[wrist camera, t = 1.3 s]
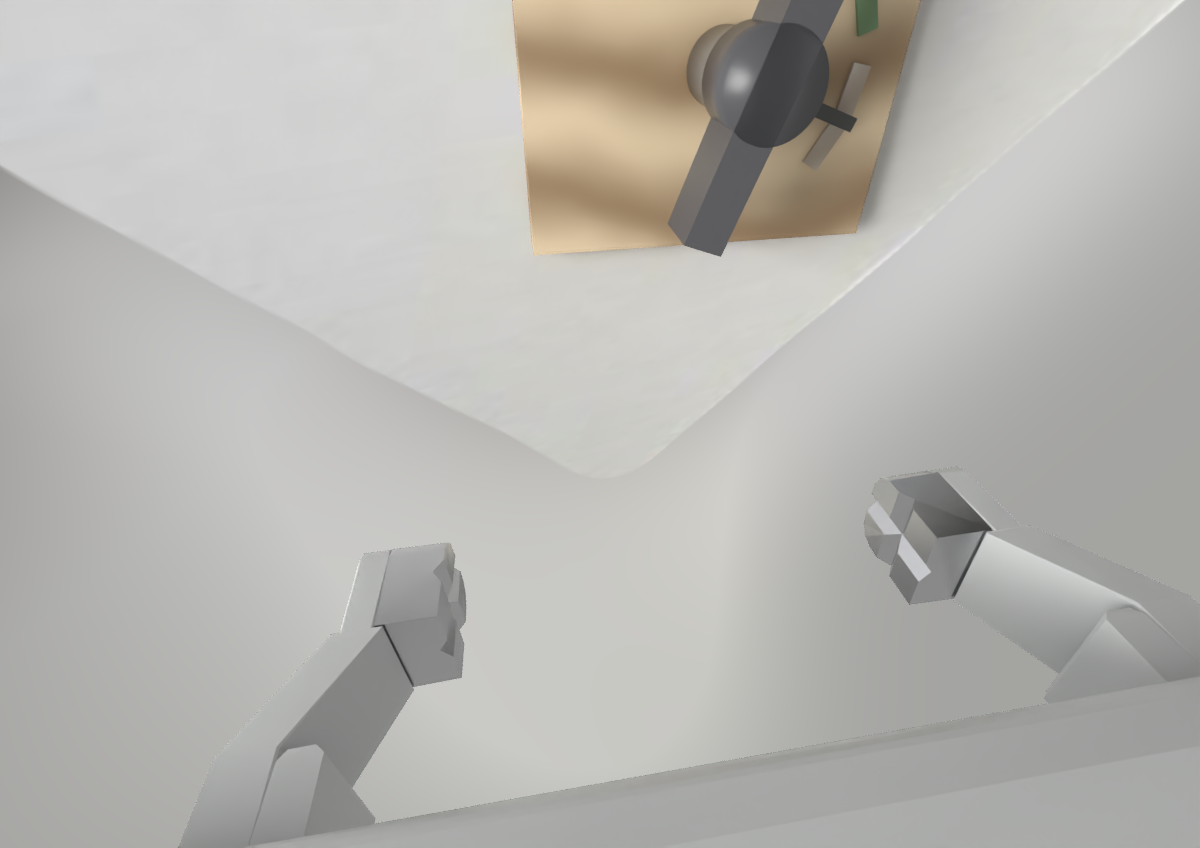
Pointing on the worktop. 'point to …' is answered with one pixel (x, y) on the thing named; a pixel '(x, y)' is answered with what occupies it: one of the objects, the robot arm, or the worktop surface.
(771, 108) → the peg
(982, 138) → the worktop surface
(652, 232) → the tuner board
